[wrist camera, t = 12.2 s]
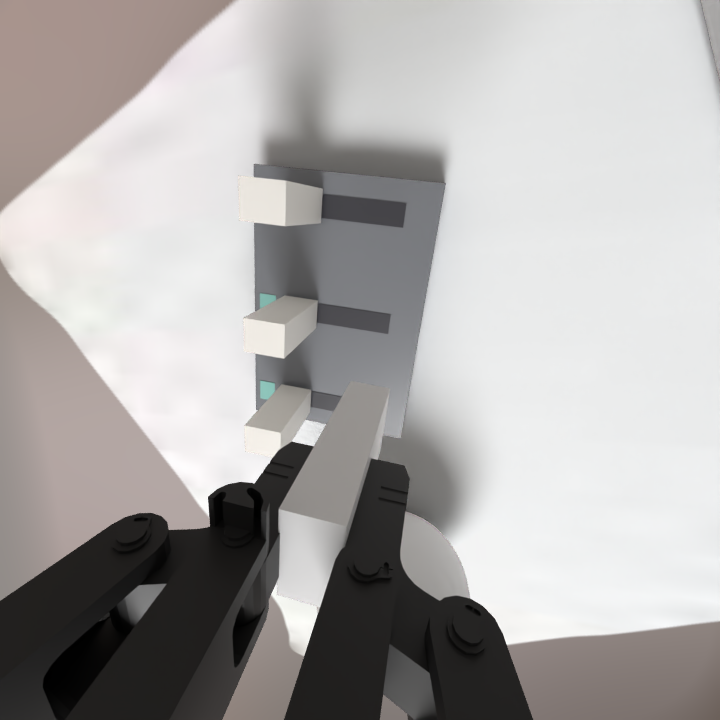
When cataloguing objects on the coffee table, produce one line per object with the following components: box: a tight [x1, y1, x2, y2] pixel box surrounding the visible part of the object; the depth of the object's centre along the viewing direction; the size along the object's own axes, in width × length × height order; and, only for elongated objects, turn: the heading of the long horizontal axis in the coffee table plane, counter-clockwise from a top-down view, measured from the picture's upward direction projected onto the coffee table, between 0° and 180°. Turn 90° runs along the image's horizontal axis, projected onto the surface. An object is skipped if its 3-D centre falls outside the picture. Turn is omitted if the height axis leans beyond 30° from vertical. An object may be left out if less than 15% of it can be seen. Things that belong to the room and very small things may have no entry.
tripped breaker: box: [243, 296, 318, 359], centre depth 23 cm, size 2×2×6 cm
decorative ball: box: [317, 512, 470, 613], centre depth 29 cm, size 12×12×12 cm
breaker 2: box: [244, 384, 311, 458], centre depth 26 cm, size 2×2×6 cm
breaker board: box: [254, 164, 446, 439], centre depth 26 cm, size 12×18×2 cm, turn 174°
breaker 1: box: [238, 176, 323, 226], centre depth 20 cm, size 2×2×6 cm
